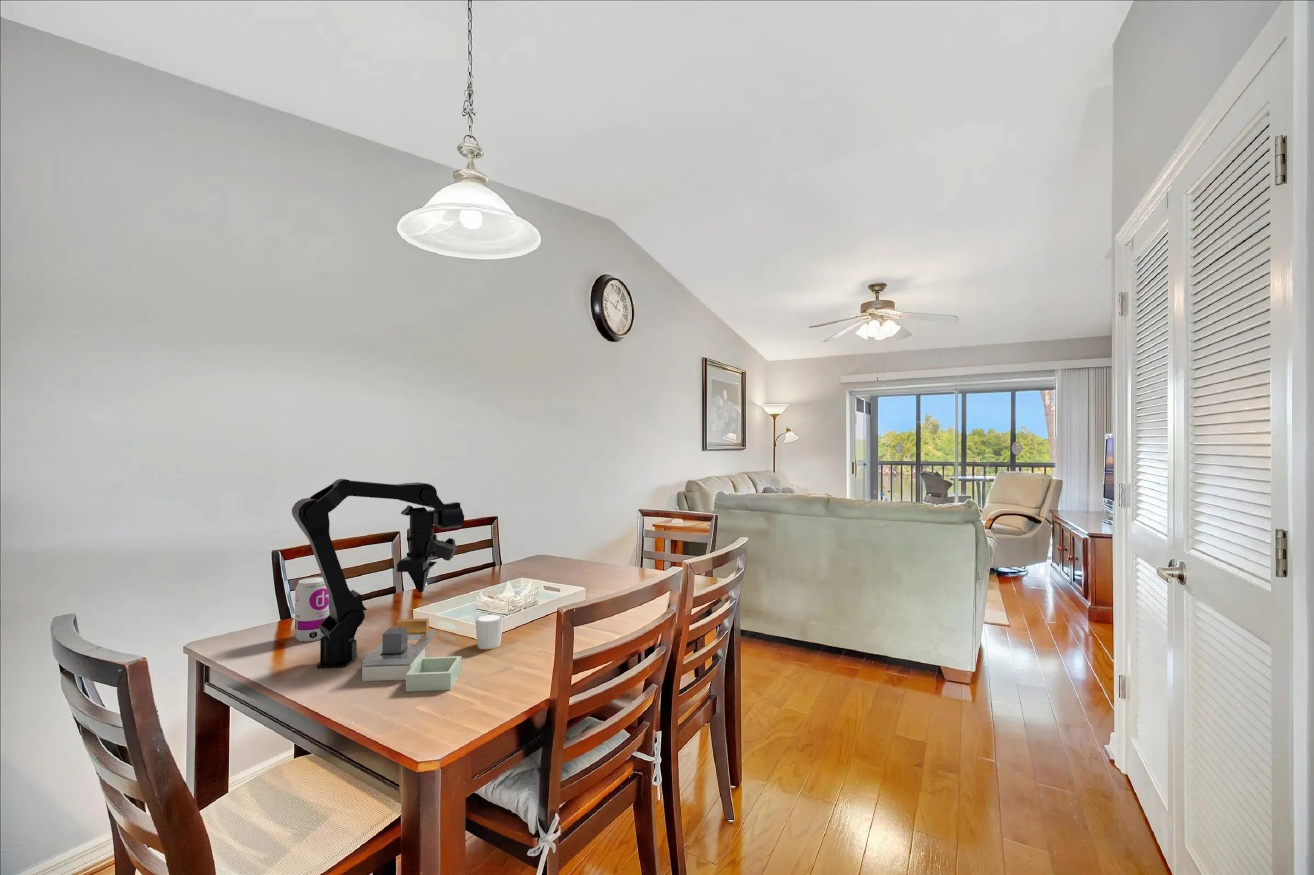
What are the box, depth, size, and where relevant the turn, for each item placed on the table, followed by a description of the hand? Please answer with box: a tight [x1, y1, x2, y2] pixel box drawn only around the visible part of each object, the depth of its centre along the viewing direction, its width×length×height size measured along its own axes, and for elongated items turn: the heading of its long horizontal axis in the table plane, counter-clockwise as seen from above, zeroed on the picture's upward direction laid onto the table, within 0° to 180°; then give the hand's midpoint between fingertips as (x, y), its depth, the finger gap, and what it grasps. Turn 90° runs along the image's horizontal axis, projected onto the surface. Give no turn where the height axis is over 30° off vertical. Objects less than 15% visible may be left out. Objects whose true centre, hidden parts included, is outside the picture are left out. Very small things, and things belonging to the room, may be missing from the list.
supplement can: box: [294, 576, 330, 643], centre depth 145 cm, size 8×8×15 cm
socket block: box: [361, 647, 426, 682], centre depth 124 cm, size 10×10×3 cm
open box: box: [405, 655, 462, 693], centre depth 119 cm, size 9×9×4 cm
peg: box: [382, 627, 409, 655], centre depth 124 cm, size 5×5×9 cm
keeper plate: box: [361, 617, 436, 667], centre depth 128 cm, size 18×10×4 cm, turn 6°
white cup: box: [475, 613, 504, 650], centre depth 140 cm, size 7×7×7 cm
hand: (421, 591), depth 142 cm, fingers closed
